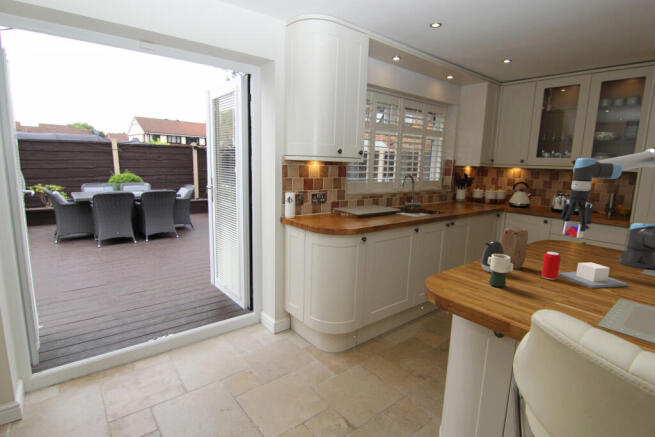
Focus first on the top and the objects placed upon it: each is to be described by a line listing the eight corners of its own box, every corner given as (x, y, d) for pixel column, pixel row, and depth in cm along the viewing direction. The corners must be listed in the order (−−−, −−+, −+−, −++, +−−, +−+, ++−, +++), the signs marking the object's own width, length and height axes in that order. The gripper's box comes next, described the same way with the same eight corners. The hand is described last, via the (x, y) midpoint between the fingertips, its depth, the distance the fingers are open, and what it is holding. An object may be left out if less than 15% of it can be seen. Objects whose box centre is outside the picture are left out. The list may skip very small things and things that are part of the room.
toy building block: (571, 239, 163) (582, 227, 159) (564, 234, 166) (574, 222, 162) (575, 239, 165) (586, 226, 161) (567, 234, 168) (578, 221, 163)
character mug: (514, 288, 136) (519, 258, 134) (504, 291, 132) (508, 260, 130) (490, 280, 145) (494, 251, 143) (480, 282, 142) (483, 253, 139)
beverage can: (555, 277, 152) (559, 252, 150) (558, 281, 147) (562, 255, 145) (540, 275, 155) (544, 250, 153) (542, 279, 149) (546, 253, 147)
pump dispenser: (475, 267, 162) (479, 237, 159) (495, 268, 163) (499, 238, 160) (487, 274, 152) (491, 243, 149) (508, 275, 153) (512, 243, 150)
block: (525, 268, 163) (531, 229, 160) (514, 270, 160) (520, 230, 157) (505, 262, 173) (510, 225, 170) (495, 263, 170) (500, 226, 167)
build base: (590, 273, 160) (593, 259, 159) (626, 285, 144) (630, 270, 143) (557, 275, 155) (559, 260, 154) (590, 288, 140) (593, 272, 139)
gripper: (556, 188, 169) (549, 231, 173) (594, 191, 150) (585, 240, 154) (568, 188, 171) (561, 231, 175) (607, 192, 152) (598, 240, 156)
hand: (572, 235), depth 164 cm, fingers closed on toy building block, 7 cm apart
